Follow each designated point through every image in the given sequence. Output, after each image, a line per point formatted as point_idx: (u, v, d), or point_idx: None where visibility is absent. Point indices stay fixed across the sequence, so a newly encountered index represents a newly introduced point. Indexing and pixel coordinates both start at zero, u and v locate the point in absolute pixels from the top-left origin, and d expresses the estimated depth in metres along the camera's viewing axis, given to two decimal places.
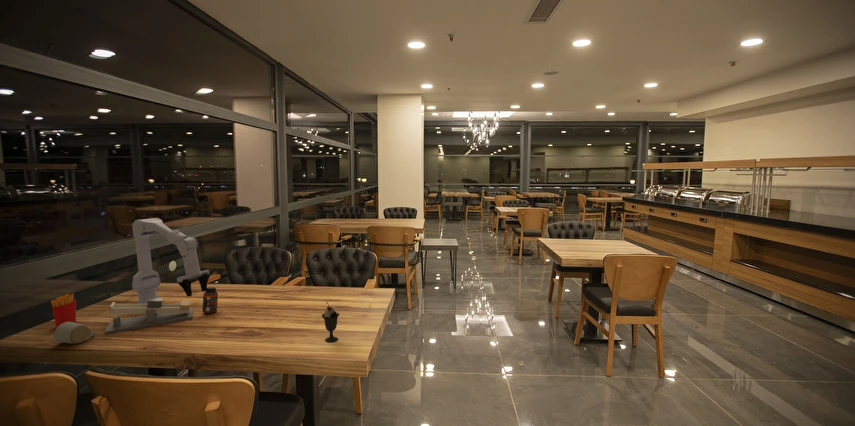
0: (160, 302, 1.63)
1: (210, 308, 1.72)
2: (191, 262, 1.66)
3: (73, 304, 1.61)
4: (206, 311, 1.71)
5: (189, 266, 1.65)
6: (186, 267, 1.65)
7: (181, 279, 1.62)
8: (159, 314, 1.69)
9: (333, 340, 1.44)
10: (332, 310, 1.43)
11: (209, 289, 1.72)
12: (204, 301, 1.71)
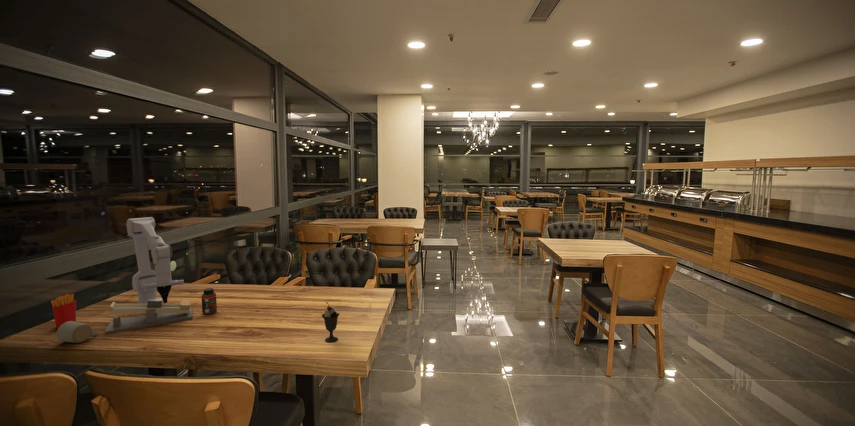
0: (160, 302, 1.63)
1: (209, 310, 1.71)
2: (160, 272, 1.62)
3: (73, 304, 1.61)
4: (206, 313, 1.71)
5: (156, 275, 1.62)
6: (155, 275, 1.63)
7: (145, 287, 1.61)
8: (159, 314, 1.69)
9: (333, 340, 1.44)
10: (332, 310, 1.43)
11: (206, 291, 1.71)
12: (203, 303, 1.71)
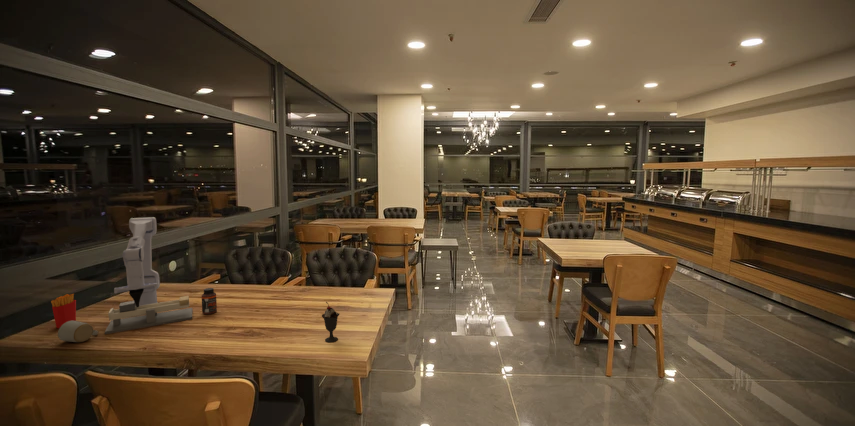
0: (132, 305, 1.58)
1: (209, 310, 1.71)
2: (129, 275, 1.57)
3: (73, 304, 1.61)
4: (205, 312, 1.71)
5: (127, 278, 1.57)
6: (127, 278, 1.58)
7: (115, 291, 1.56)
8: (159, 314, 1.69)
9: (333, 340, 1.44)
10: (332, 310, 1.43)
11: (206, 291, 1.71)
12: (203, 303, 1.71)
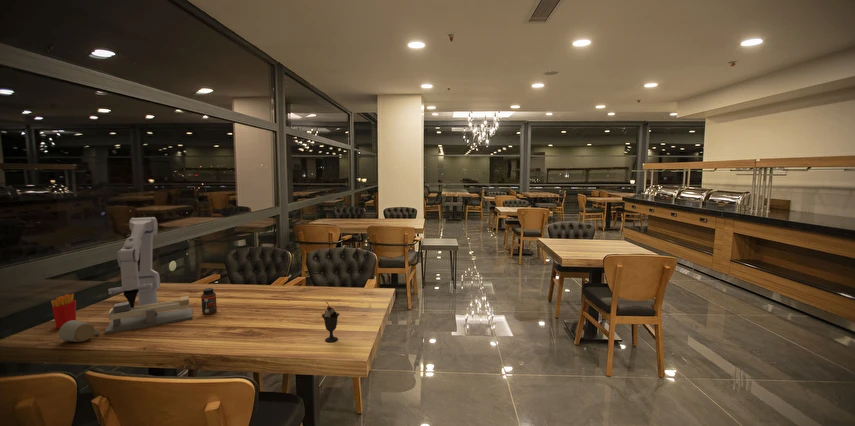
0: (127, 305, 1.57)
1: (209, 310, 1.71)
2: (123, 275, 1.56)
3: (73, 304, 1.61)
4: (205, 313, 1.71)
5: (122, 279, 1.56)
6: None
7: (110, 291, 1.55)
8: (159, 314, 1.69)
9: (333, 340, 1.44)
10: (332, 310, 1.43)
11: (206, 291, 1.71)
12: (202, 303, 1.71)
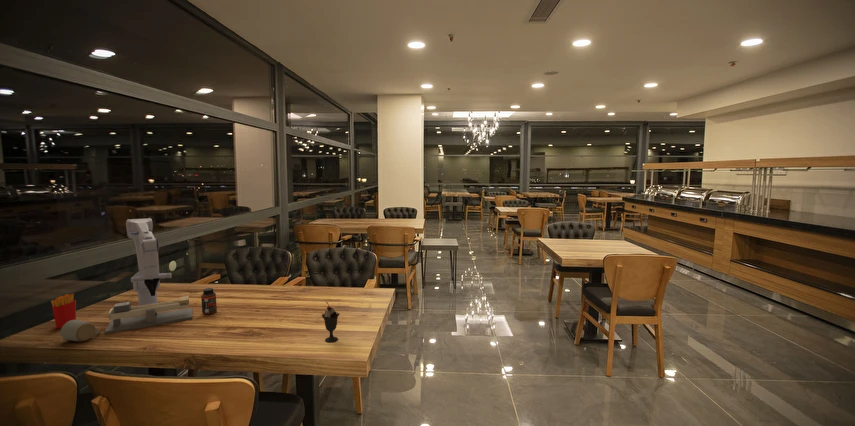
0: (127, 306, 1.57)
1: (209, 310, 1.71)
2: (147, 265, 1.63)
3: (73, 304, 1.61)
4: (205, 313, 1.71)
5: (143, 268, 1.63)
6: (143, 268, 1.64)
7: (132, 280, 1.62)
8: (159, 314, 1.69)
9: (333, 340, 1.44)
10: (332, 310, 1.43)
11: (206, 291, 1.71)
12: (202, 303, 1.71)
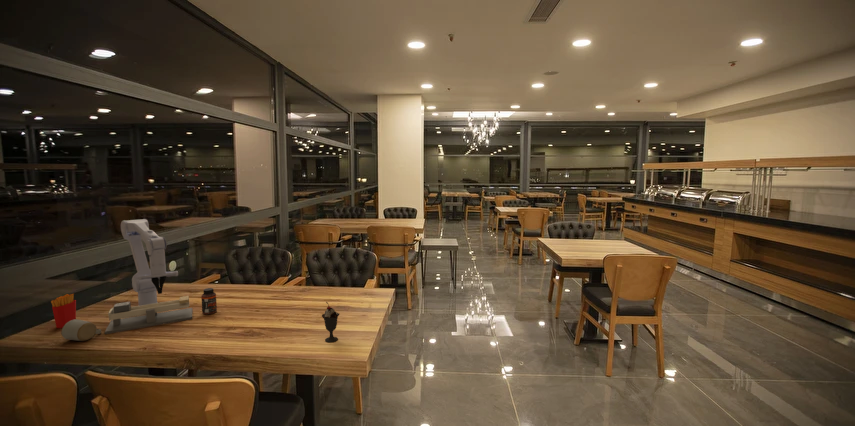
0: (127, 306, 1.57)
1: (209, 310, 1.71)
2: (155, 263, 1.66)
3: (73, 304, 1.61)
4: (205, 313, 1.71)
5: (151, 266, 1.66)
6: (150, 266, 1.67)
7: (140, 278, 1.65)
8: (159, 314, 1.69)
9: (333, 340, 1.44)
10: (332, 310, 1.43)
11: (206, 291, 1.71)
12: (202, 303, 1.71)
